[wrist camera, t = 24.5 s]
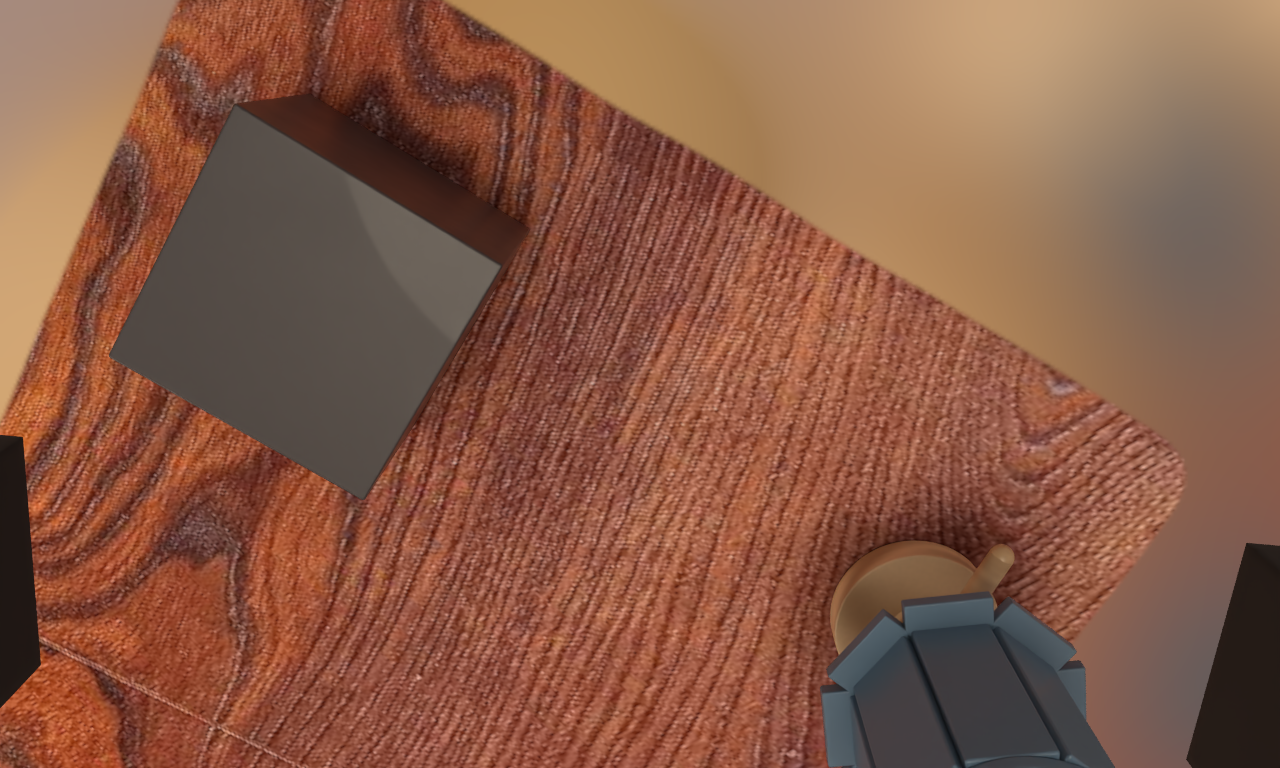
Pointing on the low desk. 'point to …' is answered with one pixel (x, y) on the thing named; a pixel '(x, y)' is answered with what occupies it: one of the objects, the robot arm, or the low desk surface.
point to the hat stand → (908, 582)
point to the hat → (958, 691)
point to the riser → (316, 287)
